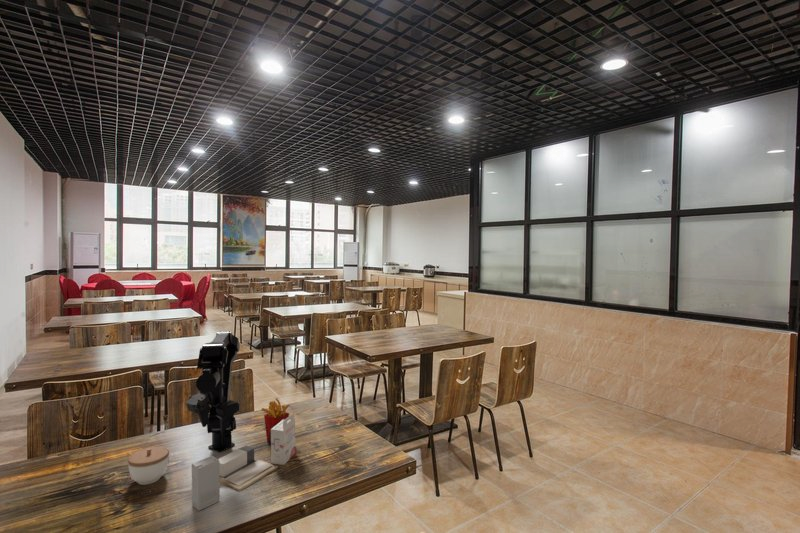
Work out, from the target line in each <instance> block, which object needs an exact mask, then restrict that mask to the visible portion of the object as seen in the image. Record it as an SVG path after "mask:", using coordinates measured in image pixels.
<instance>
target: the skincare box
mask: <svg viewBox="0 0 800 533" xmlns="http://www.w3.org/2000/svg"><path fill="white" fill-rule="evenodd" d="M218 459H219V458H217V457H215V456H213V455H211V456H208V457H205V458H203V459H201V460H198V461H194V462H191V505H192V506H193V507H194V508H195V509H196V510H197V511H198V512H199V511H201V510H204V509H205V508H208V507H210V506H212V505H214V504H216V503H218V502H220V499H221V498H220V497H221V496H220V492H221V491H220V483H219V460H218Z"/></svg>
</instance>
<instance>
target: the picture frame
mask: <svg viewBox="0 0 800 533" xmlns="http://www.w3.org/2000/svg"><path fill="white" fill-rule="evenodd" d="M278 468H279V467H278V465H276V464H271V462H267V461H264V460H262V459H258V458H256V457H254V460H253V461H252V462H250V463H248V464H246V465H244V466H242V467H241V468H239V469H237V470H235V471H233V472H232V473H230V474H228V475H226V476H224V477H222V476H220V475H219V484H221V485H223V486H226V487H229V488H231V489H234V490H236V491H237V492H241V491H243V489H245V488H247V487H249V486H251V485H252V484H254V483H256V482H257V481H260V479H263V478H264V477H265V476H267V475H268V474H270V473H272V472H274V471H275V470H277V469H278Z"/></svg>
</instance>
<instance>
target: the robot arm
mask: <svg viewBox="0 0 800 533" xmlns="http://www.w3.org/2000/svg"><path fill="white" fill-rule="evenodd" d="M239 352H240V341H239V338H238V337H237V336H235V335H234V334H233V332H232V331H230V330H229V331H228V330H226V331H225V330H223V331H221V330H220V331H218V332H216V334H215V336H214V338H213V340H212V341H211V342H206V343H204V344H202V347H200V349H199V352H198V360H197V366H196V368H197V369H202V371H201V374H200V375H199V376H198V377H197V378H196V381H195V387H196V389H197V390H198V391H199V392H198V393H195V394H193V395H190V397H188V398H187V400H186V401H185V405H186V407H187V410H188V412H191V413H193V414H197V415H198V418H199V422H200V424H201V426H202V428H205V427H206V431H207V434H212V436H211V437H212V438H211V440H212V441H211V444H210V445H208V449H210V450H212V451H216V452H218V453H221V452H223V451H225V450H227V449H230V448H231V447H233V446H235V445H236V444H235V443H234V442H232V440H233V439H232V436H233V435H232V432H233V431H234V430H236V429H237V421H236V417H235V414H236V413H237V412H239V411H240V410H241V409H240V408H241V407H240V406H241V404H240V403H239V402H238V401H235V400H231V399H230V392H231V391H230V390H231V381H232V368H233V363H234V362H235V360H237V358H238V354H239Z"/></svg>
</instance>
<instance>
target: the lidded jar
mask: <svg viewBox="0 0 800 533" xmlns="http://www.w3.org/2000/svg"><path fill="white" fill-rule="evenodd" d="M169 455H170V450H169V448H167V447H164V446H151V447H150V446H149V447H146V448H143V449H139V450H137V451H135V452H133V453H132V454H131V455H130V456H129V457H128V458H127V459H128V460H127V462H128V472H129V475H130V477H131V479H132V480H133V481H135V482H136V483H137V484H138V485H143V486H144V485H146V486H147V485H150V484H154V483H156V482H158V481H159V480H160V479H161V477H162V476H163V475H164V474H165V472H166V471H167V468H168V464H169V458H170V456H169Z"/></svg>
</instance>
